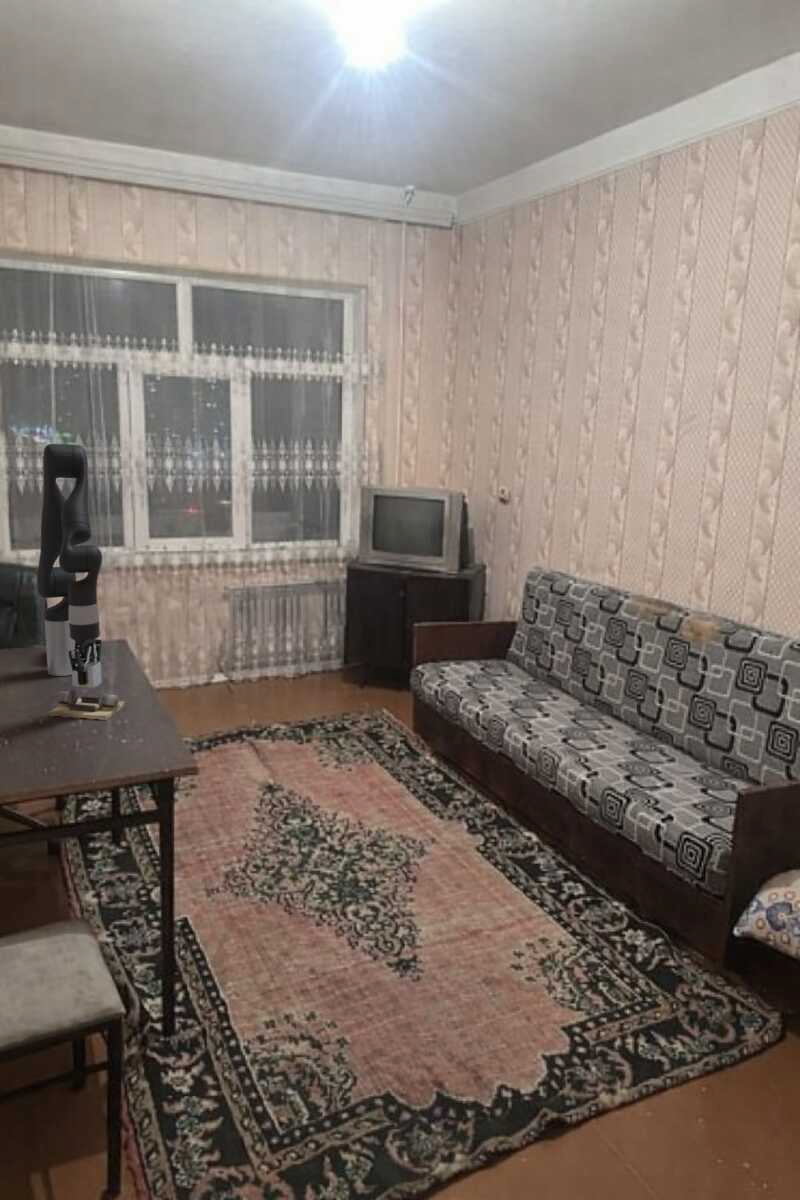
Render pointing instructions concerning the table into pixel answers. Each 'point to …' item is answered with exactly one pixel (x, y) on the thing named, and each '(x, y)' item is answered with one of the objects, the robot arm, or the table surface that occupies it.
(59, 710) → the beige flat board
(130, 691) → the table surface
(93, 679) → the block
